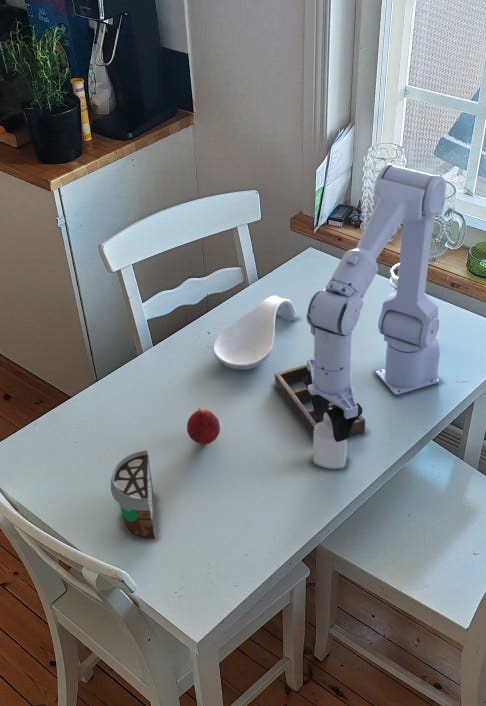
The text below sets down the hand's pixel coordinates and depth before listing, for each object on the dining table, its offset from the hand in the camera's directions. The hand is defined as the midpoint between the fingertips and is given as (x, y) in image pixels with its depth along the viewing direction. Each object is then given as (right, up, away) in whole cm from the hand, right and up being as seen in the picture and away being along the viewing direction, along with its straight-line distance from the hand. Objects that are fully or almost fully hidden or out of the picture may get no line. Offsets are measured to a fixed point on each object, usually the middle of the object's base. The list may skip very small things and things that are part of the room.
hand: (330, 425), depth 155 cm
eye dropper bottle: (0, -6, +6) cm, 9 cm away
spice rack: (-1, +4, +16) cm, 17 cm away
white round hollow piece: (+18, +22, +36) cm, 46 cm away
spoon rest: (-12, +17, +32) cm, 39 cm away
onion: (-22, -3, +11) cm, 24 cm away
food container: (-32, -16, -2) cm, 36 cm away
